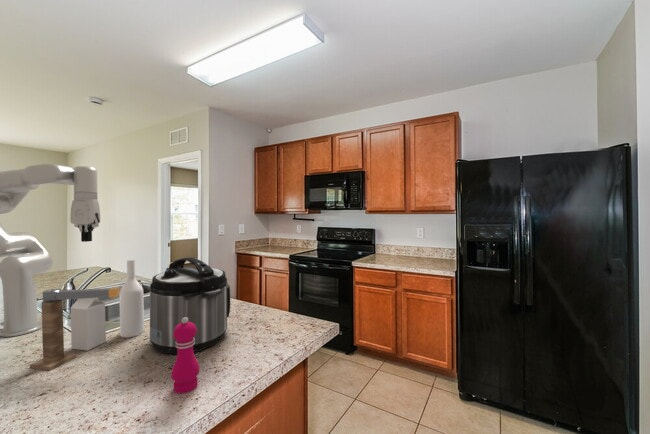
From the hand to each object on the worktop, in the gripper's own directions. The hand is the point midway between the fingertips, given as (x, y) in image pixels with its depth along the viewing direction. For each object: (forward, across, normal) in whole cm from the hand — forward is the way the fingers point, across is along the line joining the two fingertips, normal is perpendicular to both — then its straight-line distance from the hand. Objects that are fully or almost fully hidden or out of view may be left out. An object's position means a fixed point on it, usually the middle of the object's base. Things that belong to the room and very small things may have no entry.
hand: (86, 241), depth 121 cm
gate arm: (+16, +22, -21) cm, 34 cm away
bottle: (+37, +21, 0) cm, 43 cm away
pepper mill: (+37, +65, -28) cm, 80 cm away
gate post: (+37, +14, -24) cm, 46 cm away
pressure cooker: (+37, +48, 0) cm, 61 cm away
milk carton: (+37, +14, -12) cm, 42 cm away
